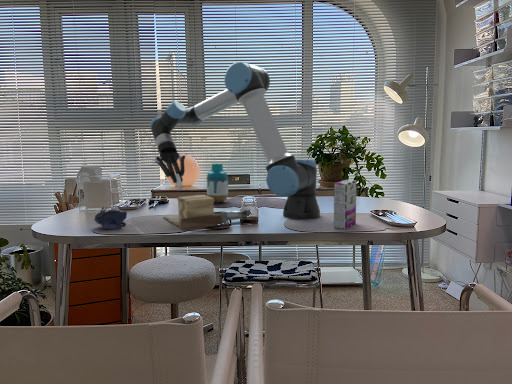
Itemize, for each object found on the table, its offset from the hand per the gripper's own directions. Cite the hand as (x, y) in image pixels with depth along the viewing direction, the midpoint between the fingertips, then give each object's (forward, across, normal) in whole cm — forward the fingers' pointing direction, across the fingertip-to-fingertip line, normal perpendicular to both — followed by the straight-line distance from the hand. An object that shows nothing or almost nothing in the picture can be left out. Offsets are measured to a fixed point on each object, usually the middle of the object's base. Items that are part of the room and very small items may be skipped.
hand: (180, 187), depth 162 cm
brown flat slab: (+17, 0, -1) cm, 17 cm away
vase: (-9, -27, -26) cm, 39 cm away
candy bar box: (+42, -47, +22) cm, 67 cm away
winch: (+23, -15, +5) cm, 28 cm away
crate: (+21, 0, +4) cm, 21 cm away
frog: (+11, +28, -6) cm, 31 cm away
